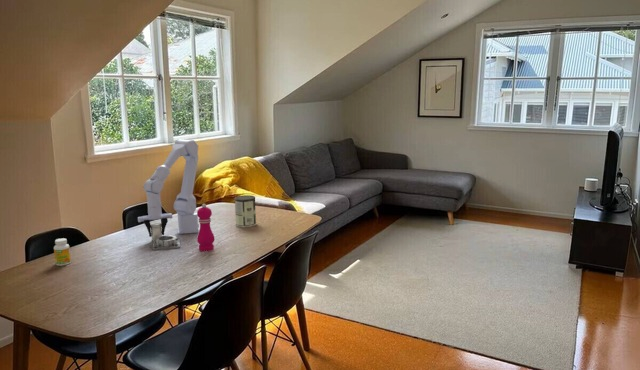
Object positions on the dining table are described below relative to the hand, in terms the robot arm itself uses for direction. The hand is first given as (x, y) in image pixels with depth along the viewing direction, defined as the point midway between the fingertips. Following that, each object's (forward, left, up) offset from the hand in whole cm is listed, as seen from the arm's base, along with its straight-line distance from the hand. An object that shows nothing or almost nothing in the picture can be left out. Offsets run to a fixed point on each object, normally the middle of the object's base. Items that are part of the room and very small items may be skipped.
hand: (156, 235), depth 219 cm
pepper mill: (-21, +19, -3) cm, 28 cm away
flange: (-4, +9, -2) cm, 10 cm away
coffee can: (-42, -15, -3) cm, 45 cm away
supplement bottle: (+34, +21, -3) cm, 40 cm away
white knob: (0, 0, -2) cm, 2 cm away
